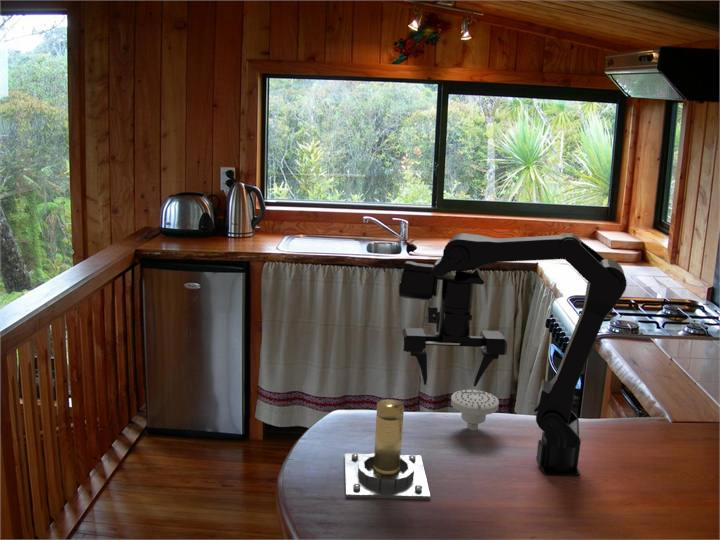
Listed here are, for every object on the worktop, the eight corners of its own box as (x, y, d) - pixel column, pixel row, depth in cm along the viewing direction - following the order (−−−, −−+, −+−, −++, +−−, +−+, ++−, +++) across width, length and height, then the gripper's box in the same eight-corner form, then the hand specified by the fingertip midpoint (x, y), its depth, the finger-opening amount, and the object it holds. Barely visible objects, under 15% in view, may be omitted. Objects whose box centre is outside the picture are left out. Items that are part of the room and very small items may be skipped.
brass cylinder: (393, 465, 137) (397, 398, 133) (403, 478, 132) (408, 409, 129) (369, 469, 135) (373, 401, 132) (379, 482, 131) (383, 412, 128)
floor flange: (420, 458, 141) (421, 447, 140) (430, 499, 127) (430, 487, 127) (344, 456, 140) (345, 445, 140) (346, 497, 127) (346, 485, 126)
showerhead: (456, 404, 147) (448, 384, 157) (453, 439, 149) (446, 416, 159) (504, 406, 148) (494, 385, 157) (501, 440, 149) (491, 418, 159)
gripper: (498, 293, 146) (490, 370, 150) (400, 289, 145) (395, 366, 149) (511, 311, 135) (503, 393, 139) (406, 307, 134) (401, 389, 138)
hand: (449, 384), depth 142 cm, fingers open, 9 cm apart
